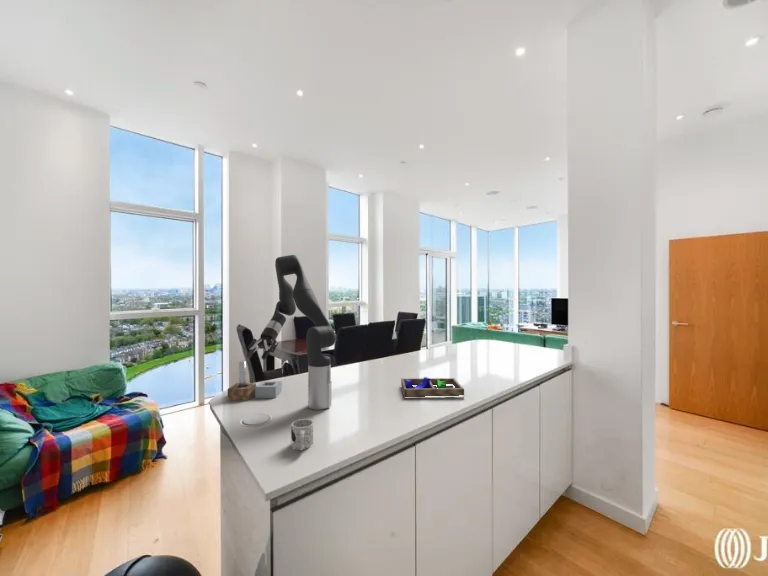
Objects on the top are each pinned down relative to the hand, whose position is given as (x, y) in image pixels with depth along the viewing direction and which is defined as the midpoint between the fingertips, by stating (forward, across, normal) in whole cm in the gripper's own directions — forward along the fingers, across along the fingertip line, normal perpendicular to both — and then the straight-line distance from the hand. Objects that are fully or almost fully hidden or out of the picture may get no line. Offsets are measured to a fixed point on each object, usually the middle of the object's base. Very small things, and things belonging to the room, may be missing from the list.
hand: (255, 358), depth 150 cm
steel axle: (+17, 0, +6) cm, 18 cm away
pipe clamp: (-9, +84, +32) cm, 91 cm away
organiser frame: (-8, +80, +31) cm, 86 cm away
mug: (+39, +52, -16) cm, 67 cm away
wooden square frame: (+17, 0, +6) cm, 18 cm away
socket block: (+12, +9, +10) cm, 19 cm away
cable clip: (-6, +73, +29) cm, 79 cm away
